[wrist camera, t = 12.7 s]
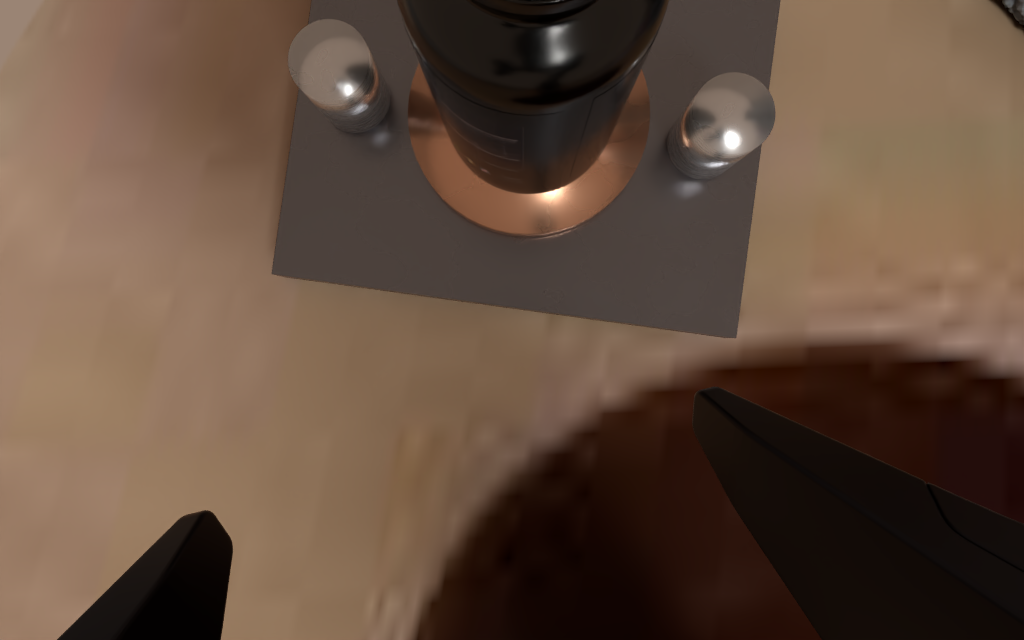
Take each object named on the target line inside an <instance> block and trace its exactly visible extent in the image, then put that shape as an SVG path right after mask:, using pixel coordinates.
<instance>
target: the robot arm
mask: <svg viewBox="0 0 1024 640" xmlns="http://www.w3.org/2000/svg"><path fill="white" fill-rule="evenodd" d="M692 424H693V429H694V432H695V435H696V437H697V439H698V441H699V443H700V445H701V446H702V448H703V450H704V452H705V454H706V456H707V458H708V460H709V462H710V464H711V466H712V467H713V469H714V471H715V473H716V475H717V477H718V479H719V481H720V483H721V485H722V487H723V488H724V490H725V492H726V494H727V496H728V498H729V499H730V501H731V503H732V505H733V506H734V508H735V510H736V511H737V513H738V514H739V516H740V517H741V519H742V520H743V522H744V523H745V525H746V526H747V528H748V529H749V531H750V532H751V534H752V535H753V537H754V538H755V540H756V541H757V543H758V544H759V546H760V547H761V549H762V550H763V552H764V553H765V555H766V556H767V558H768V559H769V561H770V562H771V564H772V565H773V567H774V568H775V570H776V571H777V573H778V574H779V576H780V577H781V579H782V580H783V582H784V583H785V585H786V586H787V588H788V589H789V591H790V592H791V594H792V595H793V597H794V598H795V600H796V601H797V603H798V604H799V606H800V607H801V609H802V610H803V612H804V613H805V615H806V616H807V618H808V619H809V621H810V622H811V624H812V625H813V627H814V628H815V630H816V631H817V633H818V634H819V636H820V637H821V639H822V640H1024V524H1023V523H1020V522H1018V521H1015V520H1013V519H1010V518H1008V517H1005V516H1003V515H1001V514H998V513H996V512H994V511H991V510H989V509H987V508H985V507H982V506H980V505H978V504H975V503H973V502H971V501H969V500H966V499H964V498H962V497H959V496H957V495H955V494H953V493H951V492H948V491H946V490H944V489H942V488H940V487H937V486H935V485H933V484H931V483H928V484H926V483H925V481H924V480H922V479H919V478H917V477H915V476H913V475H911V474H908V473H906V472H904V471H902V470H900V469H897V468H895V467H893V466H891V465H889V464H887V463H884V462H882V461H880V460H878V459H876V458H873V457H871V456H869V455H867V454H865V453H862V452H860V451H858V450H856V449H854V448H851V447H849V446H847V445H845V444H843V443H840V442H838V441H836V440H834V439H832V438H829V437H827V436H825V435H823V434H821V433H818V432H816V431H814V430H812V429H810V428H807V427H805V426H803V425H801V424H799V423H796V422H794V421H792V420H790V419H788V418H785V417H783V416H781V415H779V414H777V413H775V412H772V411H770V410H768V409H766V408H764V407H761V406H759V405H757V404H755V403H753V402H750V401H748V400H746V399H744V398H742V397H739V396H737V395H735V394H733V393H731V392H728V391H726V390H724V389H722V388H719V387H711V388H707V389H703V390H699V391H697V392H696V394H695V397H694V407H693V421H692ZM232 554H233V545H232V541H231V538H230V536H229V535H228V533H227V532H226V531H225V529H224V528H223V526H222V525H221V523H220V522H219V521H218V519H217V518H216V516H215V515H214V514H213V513H212V512H211V511H208V510H207V511H206V510H204V511H200V512H196V513H192V514H188V515H185V516H183V517H181V518H180V519H179V520H178V521H177V522H176V523H175V524H174V525H173V526H172V527H171V528H170V529H169V530H168V531H167V532H166V533H165V534H164V535H163V536H162V537H160V538H159V539H158V540H157V541H156V542H155V543H154V544H153V545H152V546H151V547H150V548H149V549H148V550H147V551H146V552H145V553H144V554H143V555H142V556H141V557H140V558H139V559H138V560H137V561H136V562H135V563H134V564H133V565H132V566H131V567H130V568H129V569H128V570H127V571H126V572H125V573H124V574H123V575H122V576H121V577H120V578H119V579H118V580H117V581H116V582H115V583H114V584H113V585H112V586H111V587H110V588H109V589H108V590H107V591H106V592H105V593H104V594H103V595H102V596H101V597H100V598H99V599H98V600H97V601H96V602H95V603H94V604H93V605H92V606H91V607H90V608H89V609H88V610H87V611H86V612H85V613H84V614H83V615H82V616H81V617H80V618H79V619H78V620H77V621H76V622H75V623H73V624H72V625H71V626H70V627H69V628H68V629H67V630H66V631H65V632H64V633H63V634H62V635H61V636H60V637H59V638H58V639H57V640H221V634H222V628H223V621H224V613H225V606H226V599H227V591H228V584H229V576H230V569H231V562H232Z"/></svg>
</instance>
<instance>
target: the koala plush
mask: <svg viewBox="0 0 1024 640" xmlns="http://www.w3.org/2000/svg"><path fill="white" fill-rule="evenodd" d="M1002 3H1003V4H1004V6H1005V8H1007V7H1008V8H1009V10H1008V11H1009V12H1011V13H1013V15H1014V17H1015V19H1016V20H1017V21H1019V23H1020V24H1023V25H1024V0H1002Z"/></svg>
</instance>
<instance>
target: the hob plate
mask: <svg viewBox="0 0 1024 640" xmlns="http://www.w3.org/2000/svg"><path fill="white" fill-rule="evenodd" d="M779 7H780V0H669V3H668V7H667V10H666V13H665V16H664V19H663V22H662V24H661V27H660V29H659V31H658V34H657V36H656V39H655V41H654V43H653V45H652V47H651V50H650V52H649V54H648V56H647V58H646V61H645V63H644V65H643V67H642V69H641V72H640V74H639V76H638V78H637V80H636V83H635V85H634V87H633V89H632V91H631V93H630V96H629V98H628V100H627V102H626V104H625V107H624V109H623V111H622V113H621V115H620V118H619V120H618V122H617V124H616V126H615V129H614V131H613V133H612V135H611V137H610V139H609V141H608V143H607V145H606V147H605V149H604V150H603V152H602V153H601V155H600V157H599V158H598V159H597V161H596V162H595V163H594V164H593V166H592V167H591V168H590V169H589V170H588V171H587V172H586V173H584V174H583V175H582V176H581V177H579V178H578V179H576V180H575V181H574V182H572V183H570V184H568V185H566V186H564V187H562V188H559V189H557V190H553V191H550V192H545V193H539V194H518V193H512V192H508V191H505V190H501V189H499V188H496V187H494V186H492V185H490V184H488V183H486V182H485V181H483V180H482V179H480V178H479V177H478V176H476V175H475V174H474V173H473V172H472V171H471V170H470V169H469V168H468V167H467V166H466V165H465V164H464V162H463V161H462V160H461V158H460V157H459V155H458V154H457V152H456V150H455V148H454V147H453V145H452V142H451V140H450V138H449V136H448V133H447V131H446V129H445V126H444V124H443V121H442V119H441V116H440V114H439V111H438V109H437V106H436V104H435V101H434V99H433V96H432V94H431V91H430V89H429V86H428V84H427V81H426V79H425V76H424V74H423V72H422V69H421V67H420V64H419V62H418V59H417V57H416V54H415V52H414V49H413V47H412V44H411V42H410V39H409V37H408V34H407V32H406V29H405V26H404V23H403V20H402V16H401V13H400V10H399V7H398V3H397V0H312V2H311V9H310V15H309V22H308V25H307V26H305V27H304V28H303V29H301V30H300V31H299V32H298V34H297V35H296V36H295V38H294V39H293V41H292V43H291V46H290V48H289V53H288V67H289V71H290V74H291V76H292V78H293V80H294V82H295V83H296V84H297V86H298V87H299V90H298V97H297V104H296V111H295V118H294V125H293V131H292V138H291V145H290V152H289V159H288V165H287V172H286V179H285V186H284V193H283V200H282V206H281V213H280V220H279V227H278V234H277V240H276V247H275V254H274V261H273V268H272V274H274V275H278V276H283V277H289V278H296V279H303V280H310V281H318V282H325V283H332V284H339V285H347V286H354V287H361V288H368V289H375V290H383V291H390V292H397V293H404V294H412V295H419V296H426V297H433V298H441V299H448V300H455V301H462V302H470V303H477V304H484V305H491V306H499V307H506V308H513V309H520V310H528V311H535V312H542V313H549V314H557V315H564V316H571V317H578V318H586V319H593V320H600V321H607V322H615V323H622V324H629V325H636V326H644V327H651V328H658V329H665V330H672V331H680V332H687V333H694V334H701V335H709V336H716V337H723V338H736V335H737V328H738V320H739V313H740V305H741V297H742V290H743V282H744V274H745V267H746V259H747V251H748V244H749V236H750V229H751V221H752V213H753V206H754V198H755V190H756V183H757V175H758V167H759V160H760V152H761V145H762V143H763V142H764V141H765V140H766V138H767V137H768V136H769V134H770V132H771V130H772V128H773V125H774V121H775V105H774V101H773V98H772V96H771V94H770V92H769V84H770V76H771V68H772V61H773V53H774V45H775V38H776V30H777V22H778V15H779Z"/></svg>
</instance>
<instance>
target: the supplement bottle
mask: <svg viewBox="0 0 1024 640" xmlns="http://www.w3.org/2000/svg"><path fill="white" fill-rule="evenodd" d="M397 3H398V7H399V10H400V13H401V16H402V20H403V23H404V26H405V29H406V32H407V34H408V37H409V39H410V42H411V44H412V47H413V49H414V52H415V54H416V57H417V59H418V62H419V64H420V67H421V69H422V72H423V74H424V76H425V79H426V81H427V84H428V86H429V89H430V91H431V94H432V96H433V99H434V101H435V104H436V106H437V109H438V111H439V114H440V116H441V119H442V121H443V124H444V126H445V129H446V131H447V133H448V136H449V138H450V140H451V142H452V145H453V147H454V148H455V150H456V152H457V154H458V155H459V157H460V158H461V160H462V161H463V162H464V164H465V165H466V166H467V167H468V168H469V169H470V170H471V171H472V172H473V173H474V174H475V175H476V176H478V177H479V178H480V179H482V180H483V181H485V182H486V183H488V184H490V185H492V186H494V187H496V188H499V189H501V190H505V191H508V192H512V193H518V194H539V193H545V192H550V191H553V190H557V189H559V188H562V187H564V186H566V185H568V184H570V183H572V182H574V181H575V180H576V179H578V178H579V177H581V176H582V175H583V174H584V173H586V172H587V171H588V170H589V169H590V168H591V167H592V166H593V164H594V163H595V162H596V161H597V159H598V158H599V157H600V155H601V153H602V152H603V150H604V149H605V147H606V145H607V143H608V141H609V139H610V137H611V135H612V133H613V131H614V129H615V126H616V124H617V122H618V120H619V118H620V115H621V113H622V111H623V109H624V107H625V104H626V102H627V100H628V98H629V96H630V93H631V91H632V89H633V87H634V85H635V83H636V80H637V78H638V76H639V74H640V72H641V69H642V67H643V65H644V63H645V61H646V58H647V56H648V54H649V52H650V50H651V47H652V45H653V43H654V41H655V39H656V36H657V34H658V31H659V29H660V27H661V24H662V22H663V19H664V16H665V13H666V10H667V7H668V3H669V0H397Z"/></svg>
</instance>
